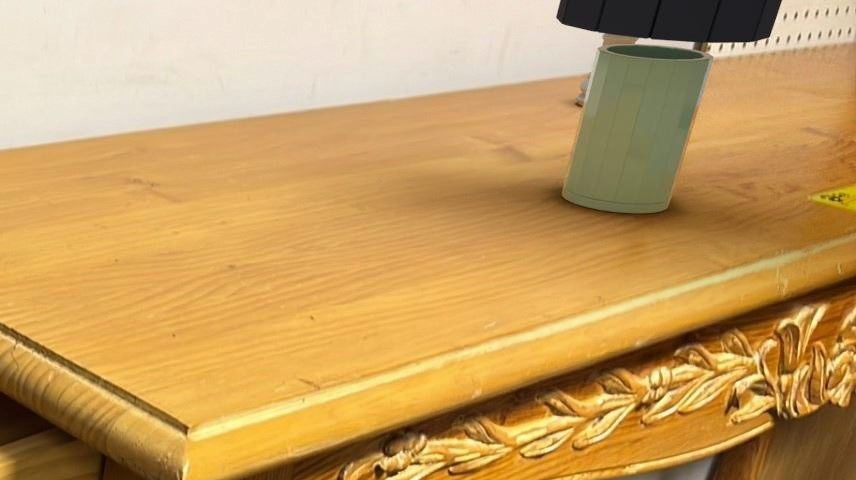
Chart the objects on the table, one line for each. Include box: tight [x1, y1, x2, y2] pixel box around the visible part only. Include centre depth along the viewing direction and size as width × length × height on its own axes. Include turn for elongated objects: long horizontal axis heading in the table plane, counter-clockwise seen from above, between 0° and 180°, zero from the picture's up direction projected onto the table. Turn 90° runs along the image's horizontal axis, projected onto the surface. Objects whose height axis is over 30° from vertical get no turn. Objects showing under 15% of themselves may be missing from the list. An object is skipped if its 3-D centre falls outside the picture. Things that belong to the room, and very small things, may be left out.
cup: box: [561, 43, 715, 215], centre depth 76 cm, size 6×6×9 cm
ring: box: [555, 0, 783, 44], centre depth 72 cm, size 11×11×3 cm
